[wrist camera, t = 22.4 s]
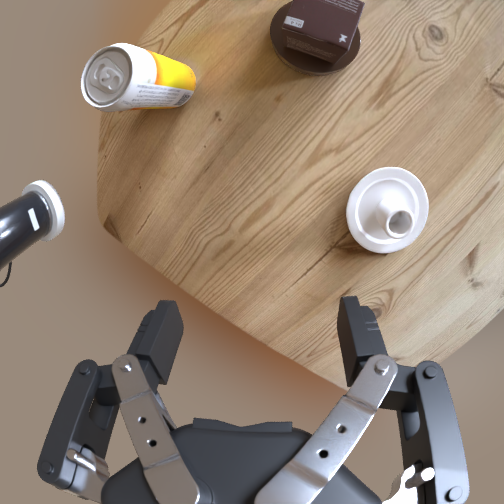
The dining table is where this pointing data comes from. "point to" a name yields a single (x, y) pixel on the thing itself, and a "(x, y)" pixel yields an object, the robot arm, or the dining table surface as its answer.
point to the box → (322, 27)
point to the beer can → (135, 80)
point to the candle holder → (387, 210)
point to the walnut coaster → (303, 60)
